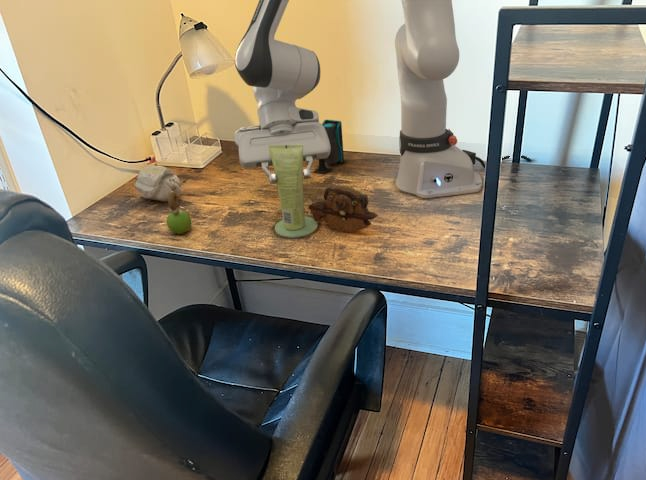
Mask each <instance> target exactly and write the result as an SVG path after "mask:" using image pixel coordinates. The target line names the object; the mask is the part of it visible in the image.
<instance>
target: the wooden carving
mask: <svg viewBox="0 0 646 480" xmlns="http://www.w3.org/2000/svg"><path fill="white" fill-rule="evenodd" d="M322 197H323V199H318V200H317V199H316V200H315V201H313V202H311V203H310V204H309V205H307V206H308V207H307V208H308V209H309V211H310V214H311V215H312V218H313V219H314V221H316V222H317V223H326V225H328V226H329V227H330V228H332V229H333V230H337V231H339V232H347V233H352V232H359V231H363V230H364V229H367V228H369V227H370V226H371V225H372V222H371V221H372V220H374V219H375V218H377V217H379V214H378V213H377V212H374V211H370V210H369V208H368V205H369V196H368V194H367V193H362V192H360V191H359V190H357V189H355V188H353V187H351V186H347V185H339V186H335V187H332V186H331V185H329V186H327V187H326V188H325V190H324V193H323V196H322Z"/></svg>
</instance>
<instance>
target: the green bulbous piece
mask: <svg viewBox="0 0 646 480" xmlns="http://www.w3.org/2000/svg"><path fill="white" fill-rule="evenodd" d="M174 180H175V179H172V181H174ZM169 181H171V179H169ZM170 188H171V191H170V192H169V194H168V201H167V202H168V203H167V204H168V207H169V209H170V210H171V212H170V213H169V214H168V215H167V216H166V217H167V218H166V225H167V228H168V229H169V231H170V232H172V233H174V234H178V235H179V234H181V235H182V234H185V233H187V232H188V231H189V230H190V228H191V227H192V218H191V215H190V214H189V213H187V211H184V210H181V209H180V200H179V196H178V194H177V190H176V185H175V184H171V185H170Z"/></svg>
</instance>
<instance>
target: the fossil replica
mask: <svg viewBox="0 0 646 480" xmlns="http://www.w3.org/2000/svg"><path fill="white" fill-rule="evenodd" d="M169 179H171V181H169ZM172 179H175V180H174V181H172ZM171 184H175V185H176V190H177V194H178V197H180V195H181V193H182V191H181V186H182V182H181V180H180V178H179V177H178V176H177V174H175V173H174V171H172V170H171V169H170V168H168V167H166V166H163V165H156V164H154V163H151V164H149V165H146V166H144V167H142V168H141V169H140V170H139V171H138V174H137V177H136V182H135V184H134V188H135V189H136V191H138V193H139V194H140V195H141V197H142V198H144V199H147V200H153V201H157V202H162V203H167V202H168V194H169V192H170V191H171V188H170V185H171Z"/></svg>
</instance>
